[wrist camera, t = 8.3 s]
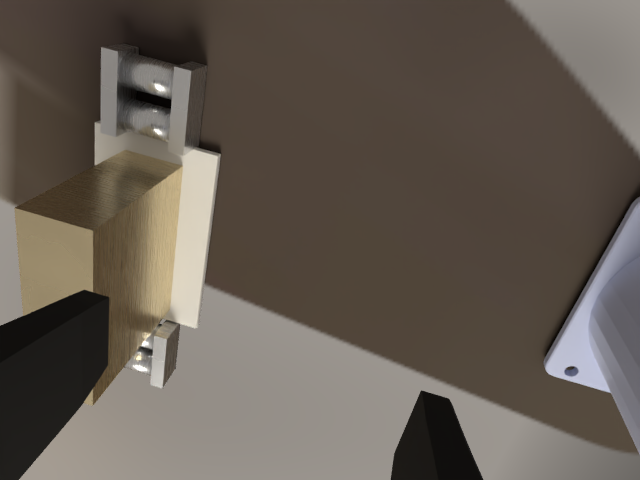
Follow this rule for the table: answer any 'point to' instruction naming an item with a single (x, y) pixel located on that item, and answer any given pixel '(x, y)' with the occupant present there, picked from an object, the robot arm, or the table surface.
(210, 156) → the pad
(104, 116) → the chain ends
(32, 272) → the wood grain block
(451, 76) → the table surface
